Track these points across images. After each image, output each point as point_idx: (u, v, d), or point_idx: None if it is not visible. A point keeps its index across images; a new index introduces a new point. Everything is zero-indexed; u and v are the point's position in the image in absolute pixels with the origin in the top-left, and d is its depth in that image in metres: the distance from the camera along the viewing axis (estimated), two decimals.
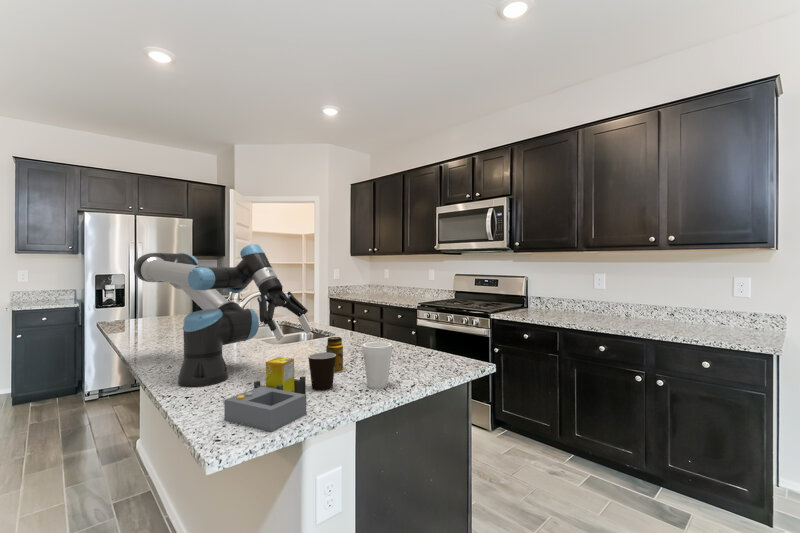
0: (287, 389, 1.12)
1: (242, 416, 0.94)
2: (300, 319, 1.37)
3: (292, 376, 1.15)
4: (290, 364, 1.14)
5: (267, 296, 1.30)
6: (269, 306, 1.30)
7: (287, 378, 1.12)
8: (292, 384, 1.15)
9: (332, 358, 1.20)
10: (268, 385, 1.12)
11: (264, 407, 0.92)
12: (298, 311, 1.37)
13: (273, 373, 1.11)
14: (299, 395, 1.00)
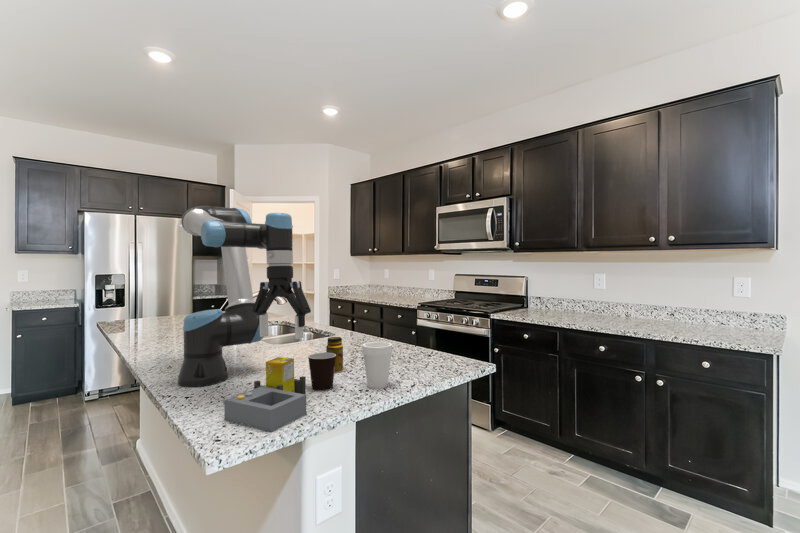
0: (287, 389, 1.12)
1: (242, 416, 0.94)
2: None
3: (292, 376, 1.15)
4: (290, 364, 1.14)
5: (268, 285, 1.16)
6: None
7: (287, 378, 1.12)
8: (292, 384, 1.15)
9: (332, 358, 1.20)
10: (268, 385, 1.12)
11: (264, 407, 0.92)
12: None
13: (273, 373, 1.11)
14: (299, 395, 1.00)
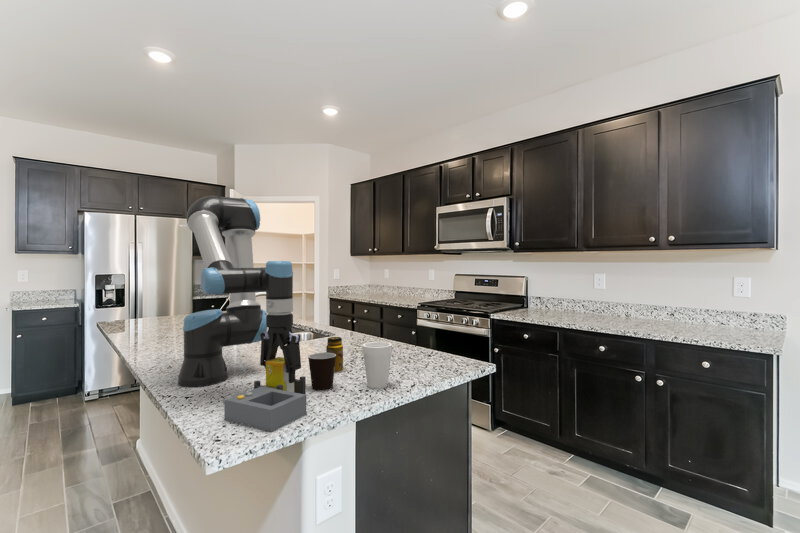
0: None
1: (242, 416, 0.94)
2: None
3: None
4: None
5: (268, 333, 1.15)
6: None
7: None
8: None
9: (332, 358, 1.20)
10: (268, 385, 1.12)
11: (264, 407, 0.92)
12: None
13: (273, 372, 1.11)
14: (299, 395, 1.00)
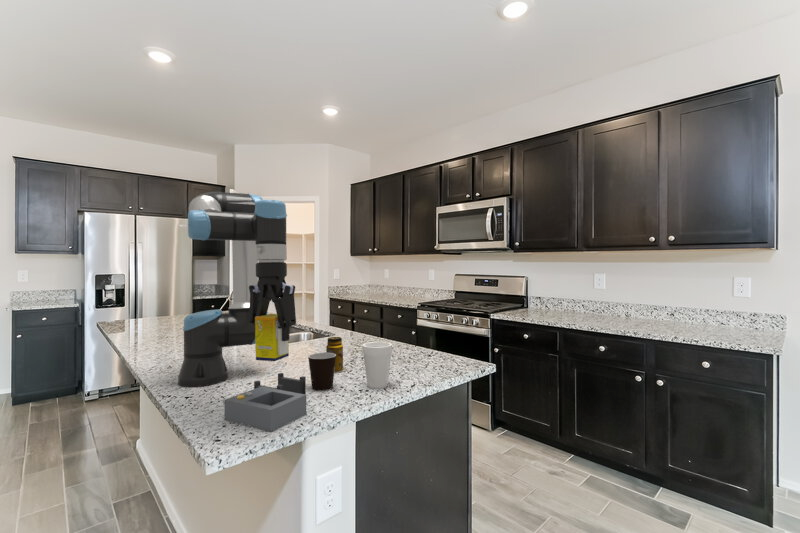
0: None
1: (242, 416, 0.94)
2: None
3: None
4: None
5: (257, 285, 1.00)
6: None
7: None
8: None
9: (332, 358, 1.20)
10: (258, 344, 0.96)
11: (264, 407, 0.92)
12: None
13: (264, 329, 0.96)
14: (299, 395, 1.00)
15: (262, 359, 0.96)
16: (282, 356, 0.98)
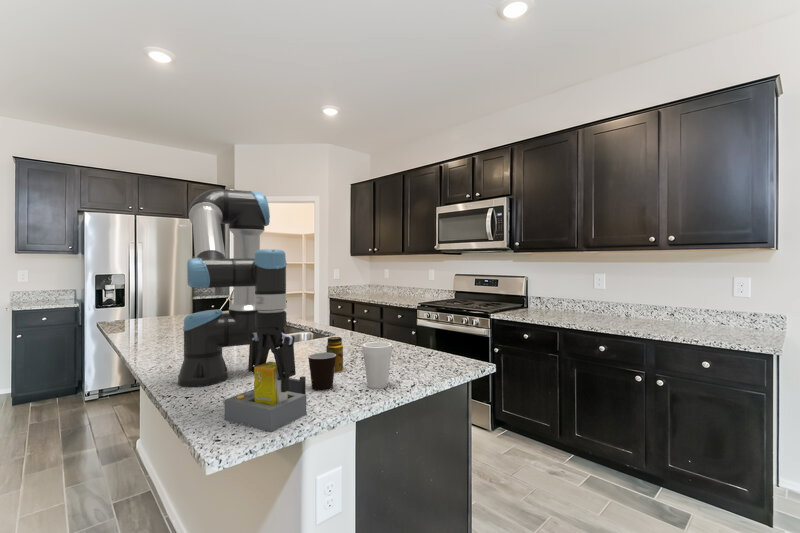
0: None
1: (242, 416, 0.94)
2: None
3: None
4: None
5: None
6: None
7: None
8: None
9: (332, 358, 1.20)
10: (257, 394, 0.96)
11: (264, 407, 0.92)
12: None
13: (263, 380, 0.95)
14: (299, 395, 1.00)
15: None
16: None
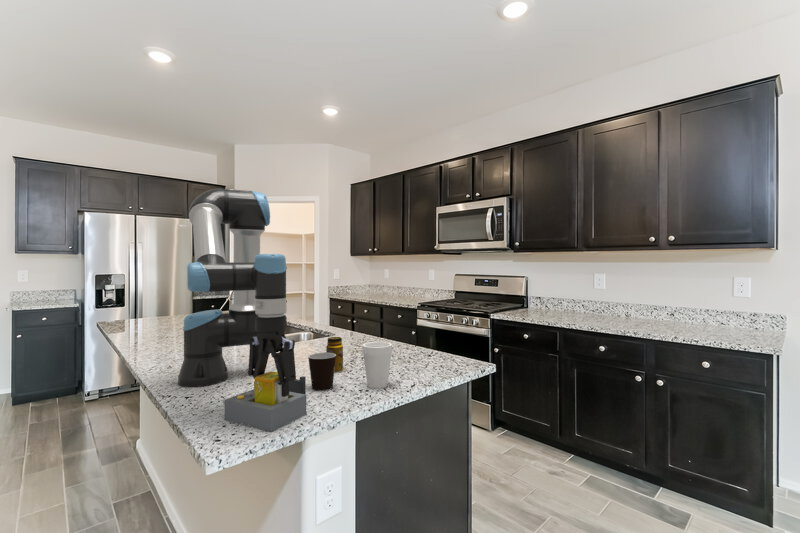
0: None
1: (242, 416, 0.94)
2: None
3: None
4: None
5: None
6: None
7: None
8: None
9: (332, 358, 1.20)
10: None
11: (264, 407, 0.92)
12: None
13: (263, 390, 0.95)
14: (299, 395, 1.00)
15: None
16: None
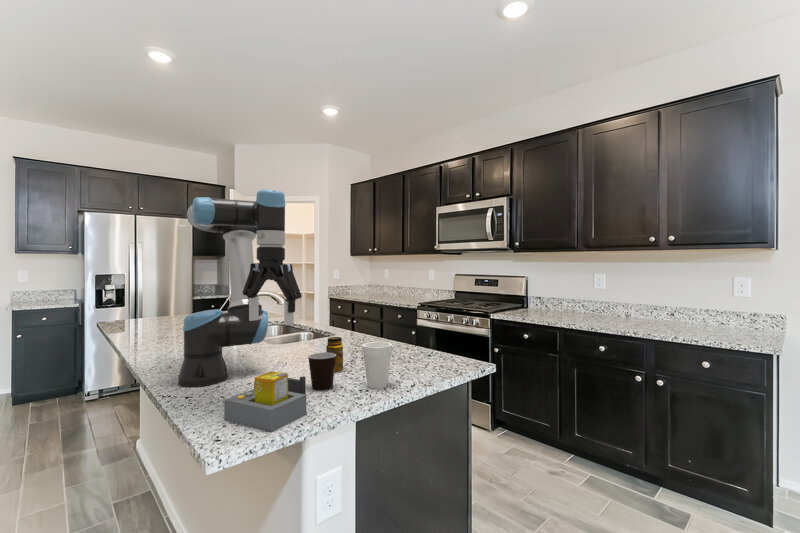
0: None
1: (242, 416, 0.94)
2: None
3: (285, 394, 0.99)
4: (283, 380, 0.98)
5: None
6: None
7: (279, 397, 0.96)
8: None
9: (332, 358, 1.20)
10: None
11: (264, 407, 0.92)
12: None
13: (263, 390, 0.95)
14: (299, 395, 1.00)
15: None
16: None
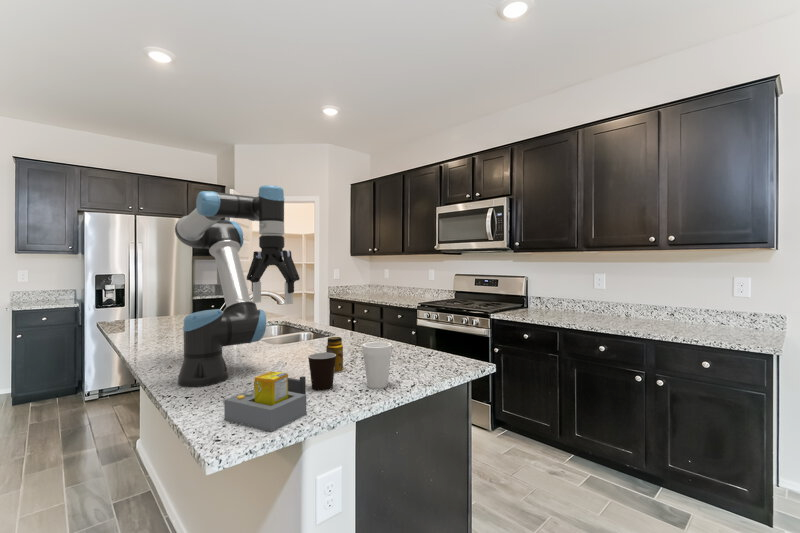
0: None
1: (242, 416, 0.94)
2: None
3: (285, 394, 0.99)
4: (283, 380, 0.98)
5: (260, 254, 1.23)
6: None
7: (279, 397, 0.96)
8: None
9: (332, 358, 1.20)
10: None
11: (264, 407, 0.92)
12: None
13: (263, 390, 0.95)
14: (299, 395, 1.00)
15: None
16: None
